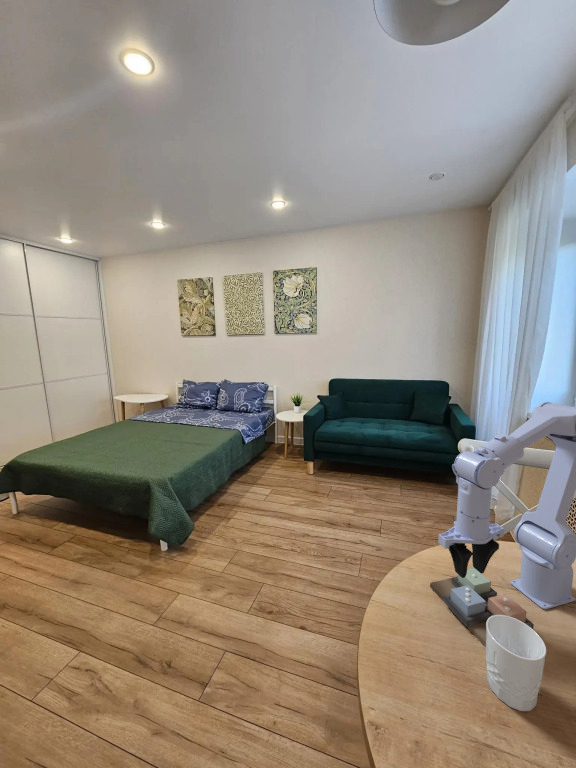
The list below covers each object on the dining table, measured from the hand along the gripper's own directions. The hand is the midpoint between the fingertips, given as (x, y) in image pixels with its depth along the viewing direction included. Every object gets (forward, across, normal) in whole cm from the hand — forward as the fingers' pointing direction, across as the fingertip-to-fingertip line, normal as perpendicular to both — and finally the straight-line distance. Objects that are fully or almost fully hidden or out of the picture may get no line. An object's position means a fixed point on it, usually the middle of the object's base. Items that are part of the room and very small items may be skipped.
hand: (469, 572), depth 64 cm
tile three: (+8, 0, 0) cm, 8 cm away
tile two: (+8, -6, +4) cm, 10 cm away
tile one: (+8, -6, -4) cm, 10 cm away
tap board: (+10, -3, 0) cm, 10 cm away
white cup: (+10, +4, +14) cm, 17 cm away
